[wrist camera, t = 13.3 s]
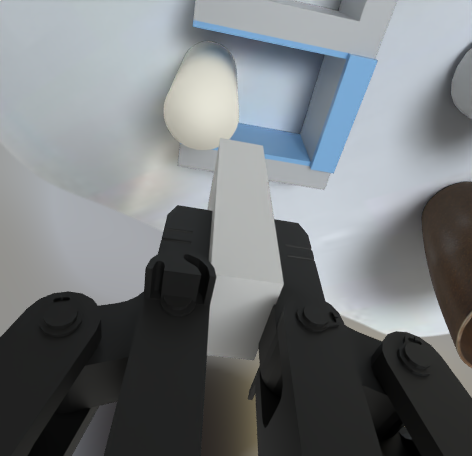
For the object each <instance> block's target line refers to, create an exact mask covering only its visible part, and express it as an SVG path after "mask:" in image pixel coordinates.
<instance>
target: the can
mask: <svg viewBox="0 0 472 456" xmlns="http://www.w3.org/2000/svg"><path fill="white" fill-rule="evenodd" d="M451 96H452V99H453V102H454V105H455V106H456V107H457V108H458V109H459V110H460V112H461V113H463V114H464V115H466V116H467V117H469V118H470V119H472V48H471V49H470V50H469V51H468V52H467V53H466V54H465V56H464V57H463V59H462V60H461V62H460V63H459V65H458V66H457V68H456V71H455V74H454V76H453V79H452V85H451Z"/></svg>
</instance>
